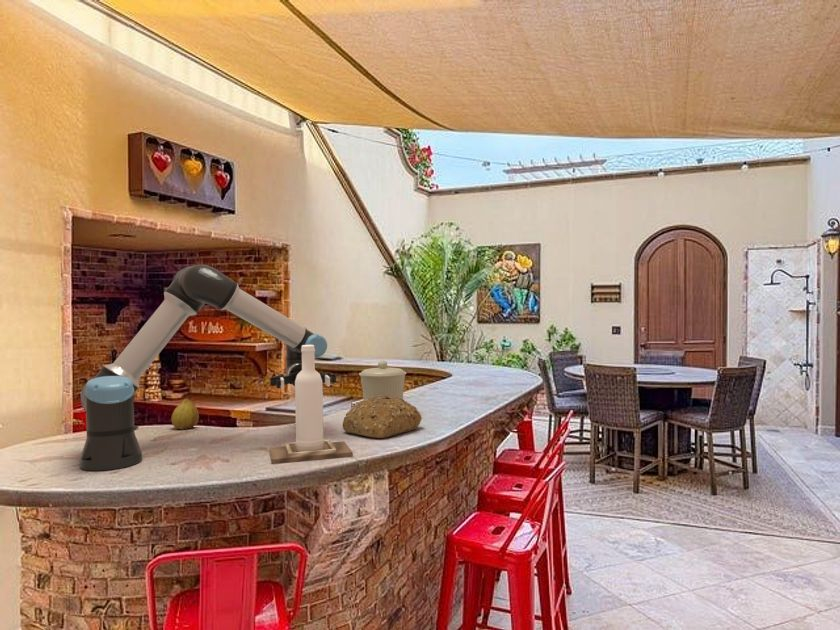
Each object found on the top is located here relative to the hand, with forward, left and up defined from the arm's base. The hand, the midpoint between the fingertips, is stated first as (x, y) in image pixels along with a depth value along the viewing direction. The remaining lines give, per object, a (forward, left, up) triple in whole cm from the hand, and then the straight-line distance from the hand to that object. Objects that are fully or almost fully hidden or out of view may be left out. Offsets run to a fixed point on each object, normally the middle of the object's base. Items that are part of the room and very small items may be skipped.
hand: (306, 383), depth 175 cm
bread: (+26, +14, -20) cm, 36 cm away
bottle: (0, -8, -18) cm, 20 cm away
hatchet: (-58, +41, -20) cm, 74 cm away
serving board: (0, -8, -19) cm, 21 cm away
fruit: (-38, +45, -19) cm, 62 cm away
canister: (+33, +41, -19) cm, 56 cm away
